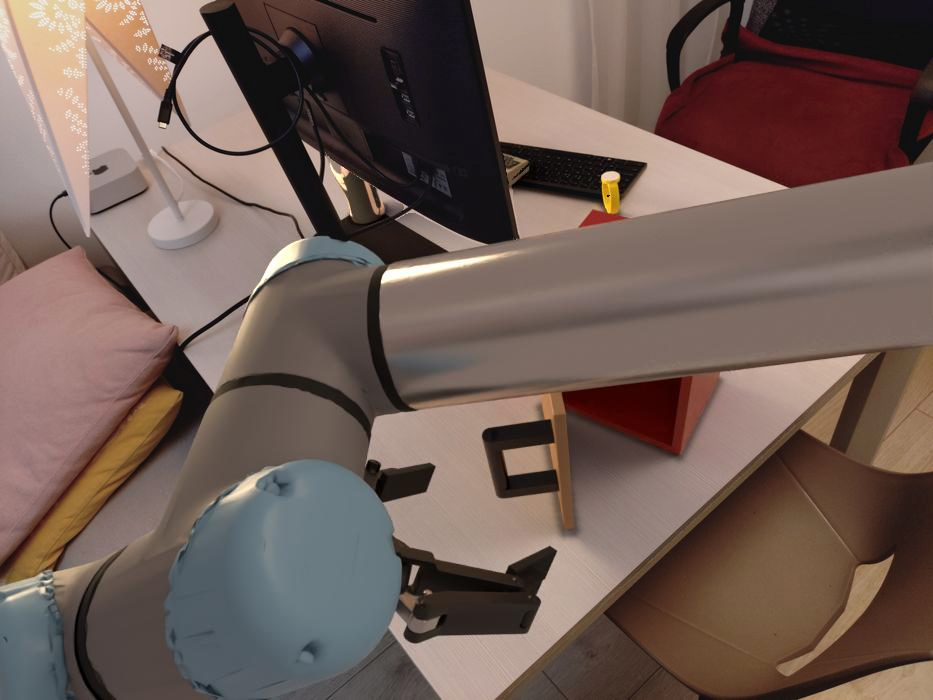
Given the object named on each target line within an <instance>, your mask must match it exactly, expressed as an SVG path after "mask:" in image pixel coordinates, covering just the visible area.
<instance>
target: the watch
mask: <svg viewBox="0 0 933 700" xmlns="http://www.w3.org/2000/svg"><path fill="white" fill-rule="evenodd" d="M600 180H601V181H600V182H601V191H602V199H603V200H602V201H603V205H604V207H605V209H606V212H607V213H611V214H615V215H617V214H618V213H619V211H620V206H621V205H620V203H621V202H620V191H619V185H618V183H619V182H620V180H621V175H620V173H619V172H617V171H614V170H612V171H611V170H610V171H606V172H604V173H603V174H601V178H600ZM607 195H610V196H609V197H607Z"/></svg>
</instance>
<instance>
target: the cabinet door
mask: <svg viewBox="0 0 933 700" xmlns="http://www.w3.org/2000/svg"><path fill="white" fill-rule="evenodd" d="M540 398H541V404H542V405H541V406H542V407H541V408H542V412H543V418H544V419H540V420H533V421H527V422H519V423H512V424H505V425H499V426H491V427H487V428H485V429H484V430H483V431H482V433H481V440H482V443H483V448H484V452H485V456H486V461H487V464H488V468H489V472H490V477H491V481H492V485H493V488H494V492H495V495H496V497H497V498H499V499H502V500H504V499H505V500H506V499H512V498H519V497H520V498H521V497H527V496H534V495H535V496H536V495H542V494H549V493H556V492H557V495H558V502H559V507H560V513H561V519H562V524H563V529H564V530H565V531H566V530H572V529H575V521H574V520H575V519H574V508H573V507H574V505H573V494H572V493H573V492H572V480H571V479H572V478H571V466H570V454H569V453H570V452H569V440H568V439H569V438H568V427H567V426H568V423H567V413H566V409H565V408H564V403H563V398H562V393H561V392H558V393H550V394H542V395H540ZM545 445H548V446H549V451H550V456H551V462H552V463H551V464H552V467H553V468H552V469H547V470H540V471H533V472H525V473H518V474H517V473H516V474H510V475H509V472H508V468H507V462H506V459H505V452H504V451H509V450H515V449H523V448H530V447H537V446H545Z"/></svg>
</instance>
